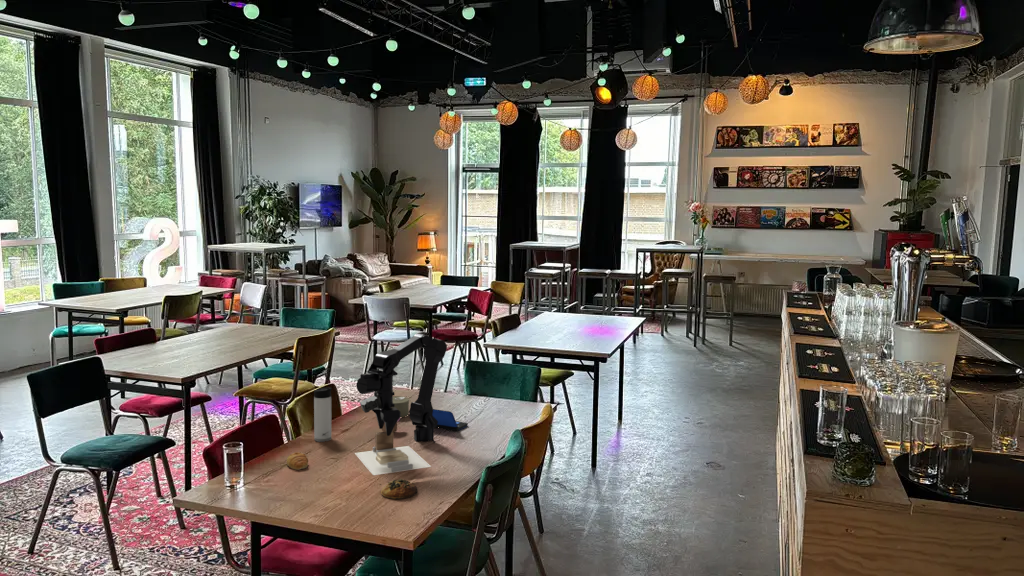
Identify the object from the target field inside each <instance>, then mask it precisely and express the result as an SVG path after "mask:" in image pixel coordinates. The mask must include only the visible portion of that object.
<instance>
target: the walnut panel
mask: <svg viewBox="0 0 1024 576" xmlns="http://www.w3.org/2000/svg"><path fill="white" fill-rule="evenodd" d="M374 436H375V438H374V439H375V440H374V441H375V442H374V443H375V444H374V445H375V446H374V447H375V452H376V450H383V449H391V448H394V433H393V432H392V433H391V435H390V436H387V433H386V432H383V431H380V432H375V435H374Z"/></svg>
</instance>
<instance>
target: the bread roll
mask: <svg viewBox="0 0 1024 576" xmlns="http://www.w3.org/2000/svg"><path fill="white" fill-rule="evenodd" d="M380 493H381V495H382V496H383V497H384V498H387V499H393V500H394V499H395V500H400V499H408V498H412V497H413V496H416V495H417V493H418V487H417V485H416V484H414V482H411V481H409V480H406V479H401V478H399V479H393V480H391V481H389V482H387V484H386V485H384V486H383V487H382V488H381V491H380Z"/></svg>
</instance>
